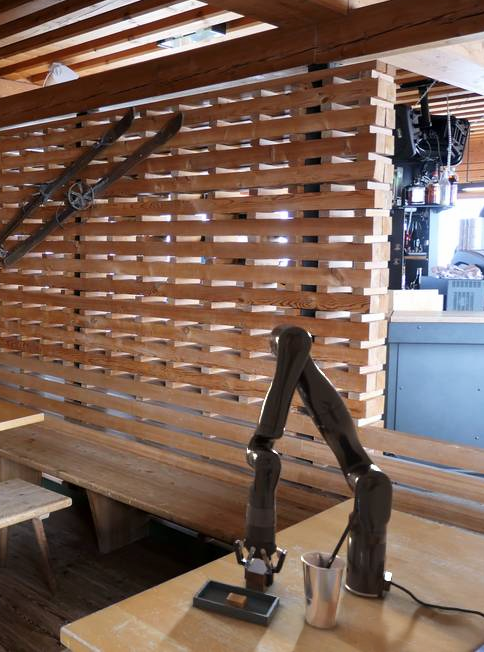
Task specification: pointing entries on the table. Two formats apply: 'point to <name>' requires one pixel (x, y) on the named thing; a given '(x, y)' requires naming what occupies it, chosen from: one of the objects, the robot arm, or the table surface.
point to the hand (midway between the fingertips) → (258, 583)
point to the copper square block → (236, 600)
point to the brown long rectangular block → (257, 576)
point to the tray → (255, 609)
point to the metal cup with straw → (323, 583)
